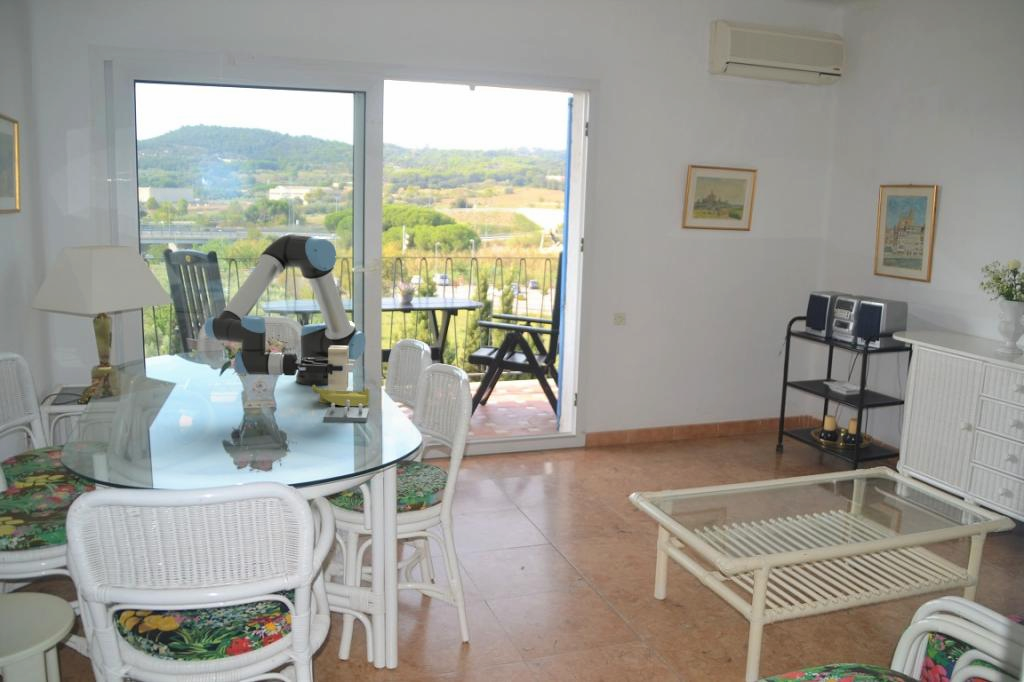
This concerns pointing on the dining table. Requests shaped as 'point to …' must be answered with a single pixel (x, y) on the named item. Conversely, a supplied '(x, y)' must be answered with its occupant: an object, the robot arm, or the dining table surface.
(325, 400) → the plastic component
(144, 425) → the dining table surface
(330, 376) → the birch block
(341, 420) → the pin plate
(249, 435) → the dining table surface
